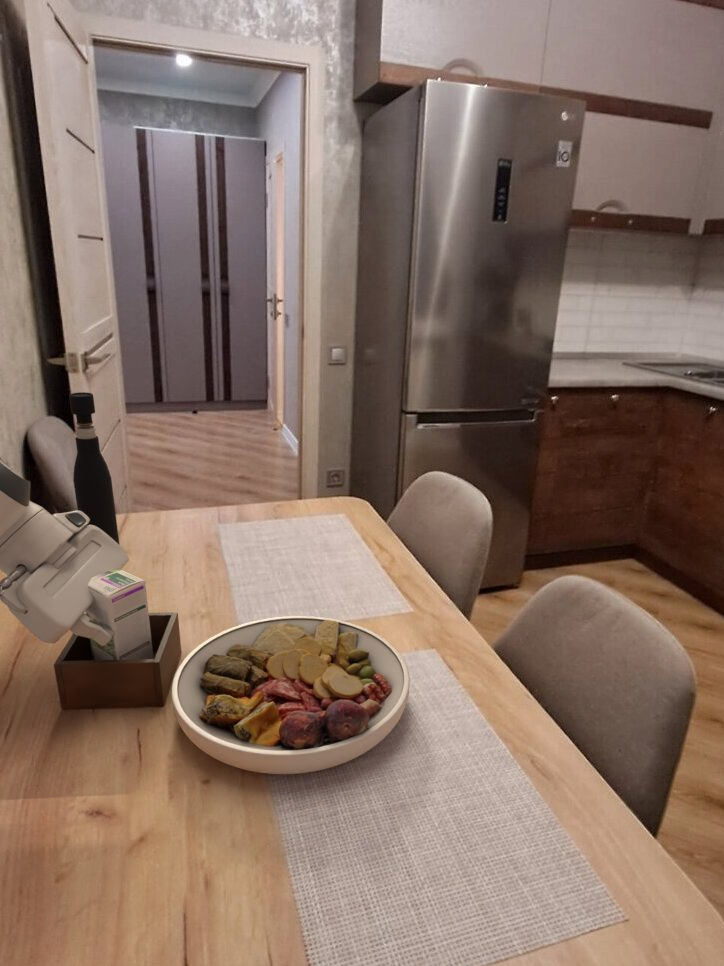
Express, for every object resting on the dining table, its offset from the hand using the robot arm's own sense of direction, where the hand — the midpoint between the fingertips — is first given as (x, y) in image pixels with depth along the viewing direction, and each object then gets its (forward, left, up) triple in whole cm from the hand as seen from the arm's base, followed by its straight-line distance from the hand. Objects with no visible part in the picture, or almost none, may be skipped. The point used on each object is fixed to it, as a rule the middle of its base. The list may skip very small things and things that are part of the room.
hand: (123, 621), depth 88 cm
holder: (-1, 0, -9) cm, 9 cm away
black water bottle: (-16, +43, -9) cm, 47 cm away
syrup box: (-1, 0, -9) cm, 9 cm away
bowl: (+22, -7, -9) cm, 25 cm away
